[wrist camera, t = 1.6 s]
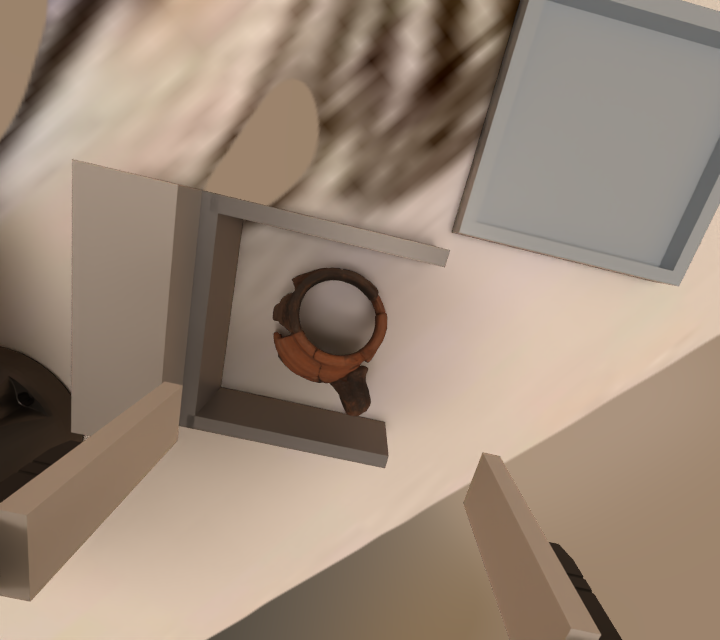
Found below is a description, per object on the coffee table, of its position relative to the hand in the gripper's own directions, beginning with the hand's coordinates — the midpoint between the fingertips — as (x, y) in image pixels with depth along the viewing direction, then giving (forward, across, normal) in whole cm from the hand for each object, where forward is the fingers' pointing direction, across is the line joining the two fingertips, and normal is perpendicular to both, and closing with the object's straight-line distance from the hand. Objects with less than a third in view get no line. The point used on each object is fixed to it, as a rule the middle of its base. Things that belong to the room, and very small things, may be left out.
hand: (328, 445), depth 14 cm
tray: (+16, +15, +19) cm, 29 cm away
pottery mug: (+16, -1, 0) cm, 16 cm away
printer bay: (+16, -6, 0) cm, 17 cm away
